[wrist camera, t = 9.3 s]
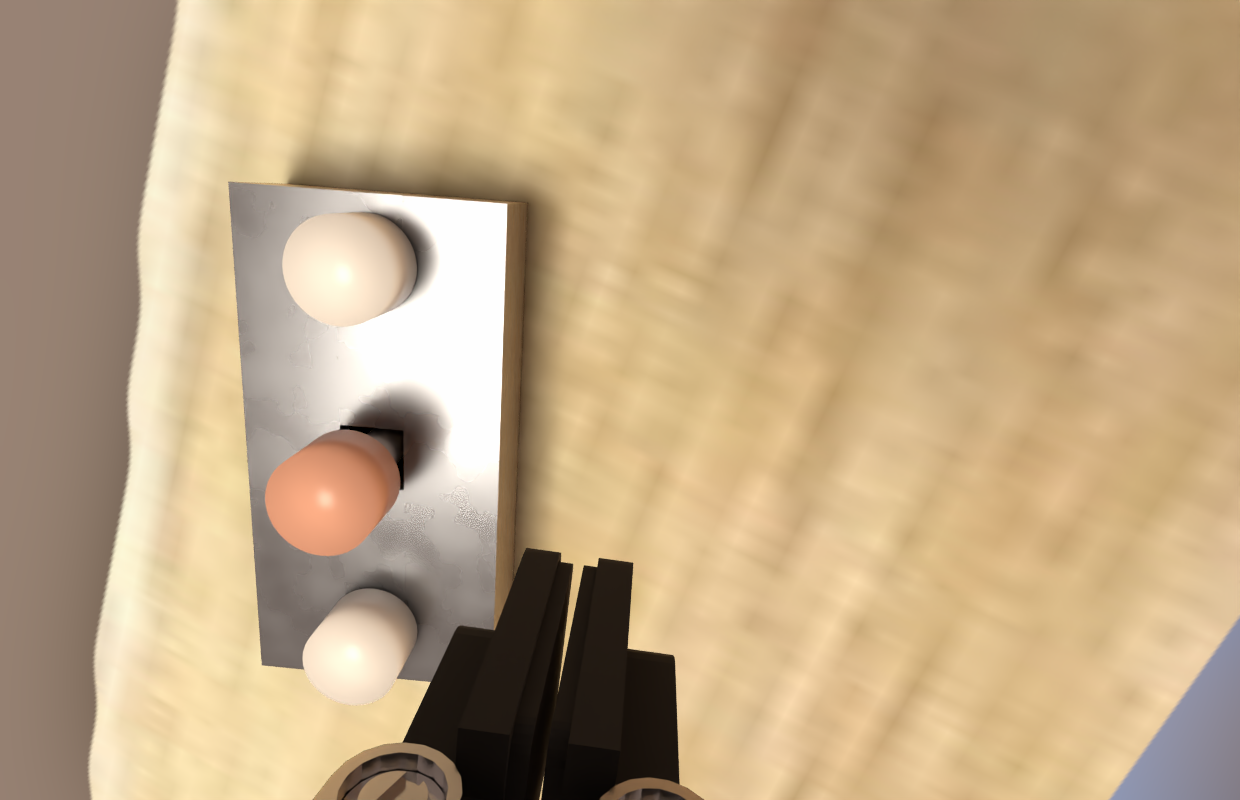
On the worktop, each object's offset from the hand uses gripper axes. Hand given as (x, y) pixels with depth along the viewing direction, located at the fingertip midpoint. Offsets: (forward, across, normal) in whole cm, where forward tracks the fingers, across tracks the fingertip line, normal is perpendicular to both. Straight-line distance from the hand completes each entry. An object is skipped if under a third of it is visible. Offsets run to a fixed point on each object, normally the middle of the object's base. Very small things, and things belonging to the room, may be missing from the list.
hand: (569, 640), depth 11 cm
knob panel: (+27, +11, +7) cm, 30 cm away
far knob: (+27, +11, +16) cm, 33 cm away
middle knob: (+24, +11, +7) cm, 28 cm away
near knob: (+27, +12, -2) cm, 29 cm away
